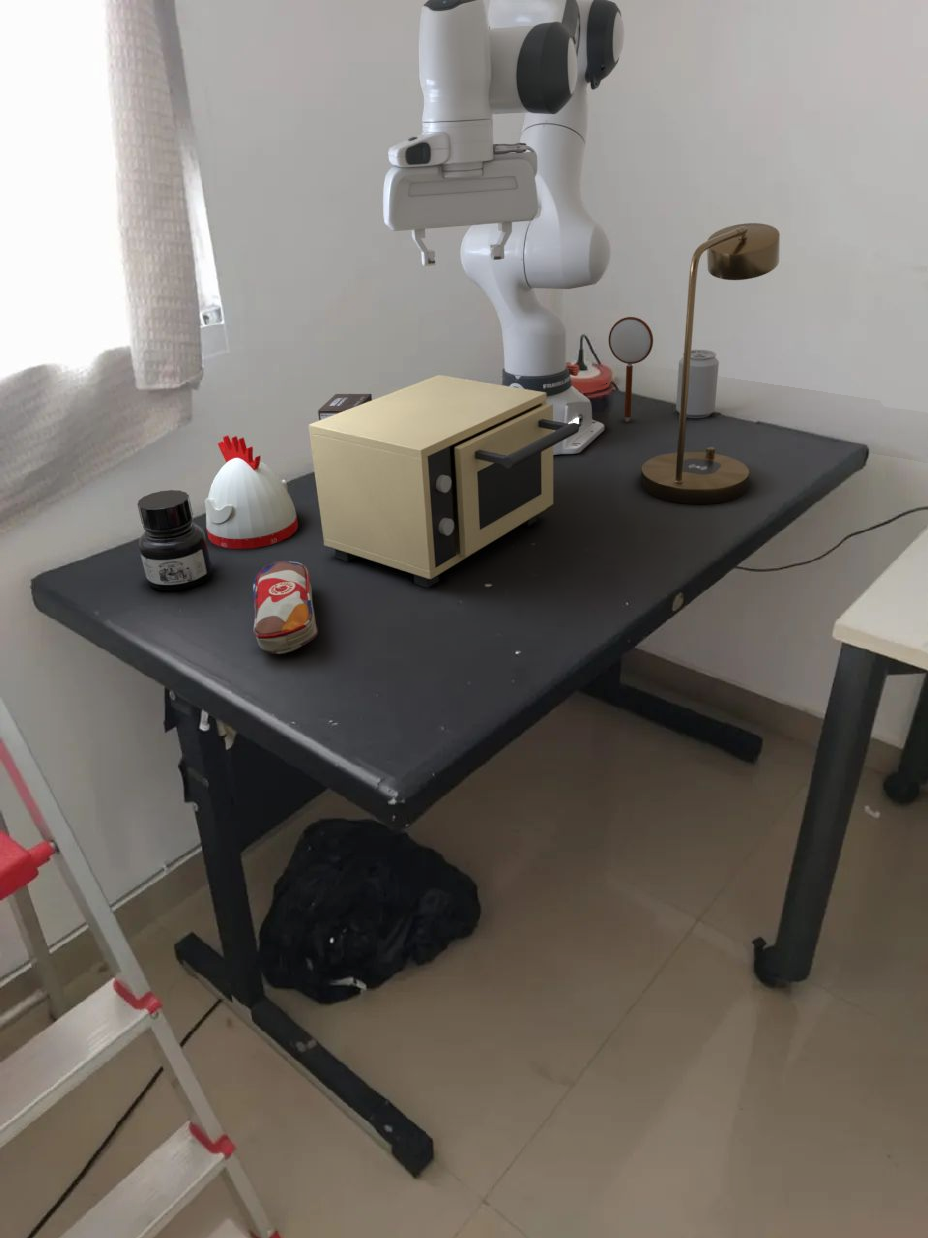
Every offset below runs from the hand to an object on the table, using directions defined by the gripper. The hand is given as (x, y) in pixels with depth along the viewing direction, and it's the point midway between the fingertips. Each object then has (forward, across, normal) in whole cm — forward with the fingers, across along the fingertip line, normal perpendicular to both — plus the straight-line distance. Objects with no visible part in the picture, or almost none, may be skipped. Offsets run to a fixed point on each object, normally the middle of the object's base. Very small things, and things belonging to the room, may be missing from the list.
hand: (463, 262), depth 126 cm
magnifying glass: (+38, -40, -38) cm, 68 cm away
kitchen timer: (+39, +33, -10) cm, 52 cm away
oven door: (+35, -5, +12) cm, 37 cm away
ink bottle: (+39, +44, +3) cm, 59 cm away
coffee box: (+38, +16, -19) cm, 46 cm away
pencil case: (+39, +30, +20) cm, 53 cm away
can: (+38, -55, -38) cm, 77 cm away
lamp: (+38, -42, -8) cm, 57 cm away
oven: (+38, +6, +3) cm, 39 cm away
